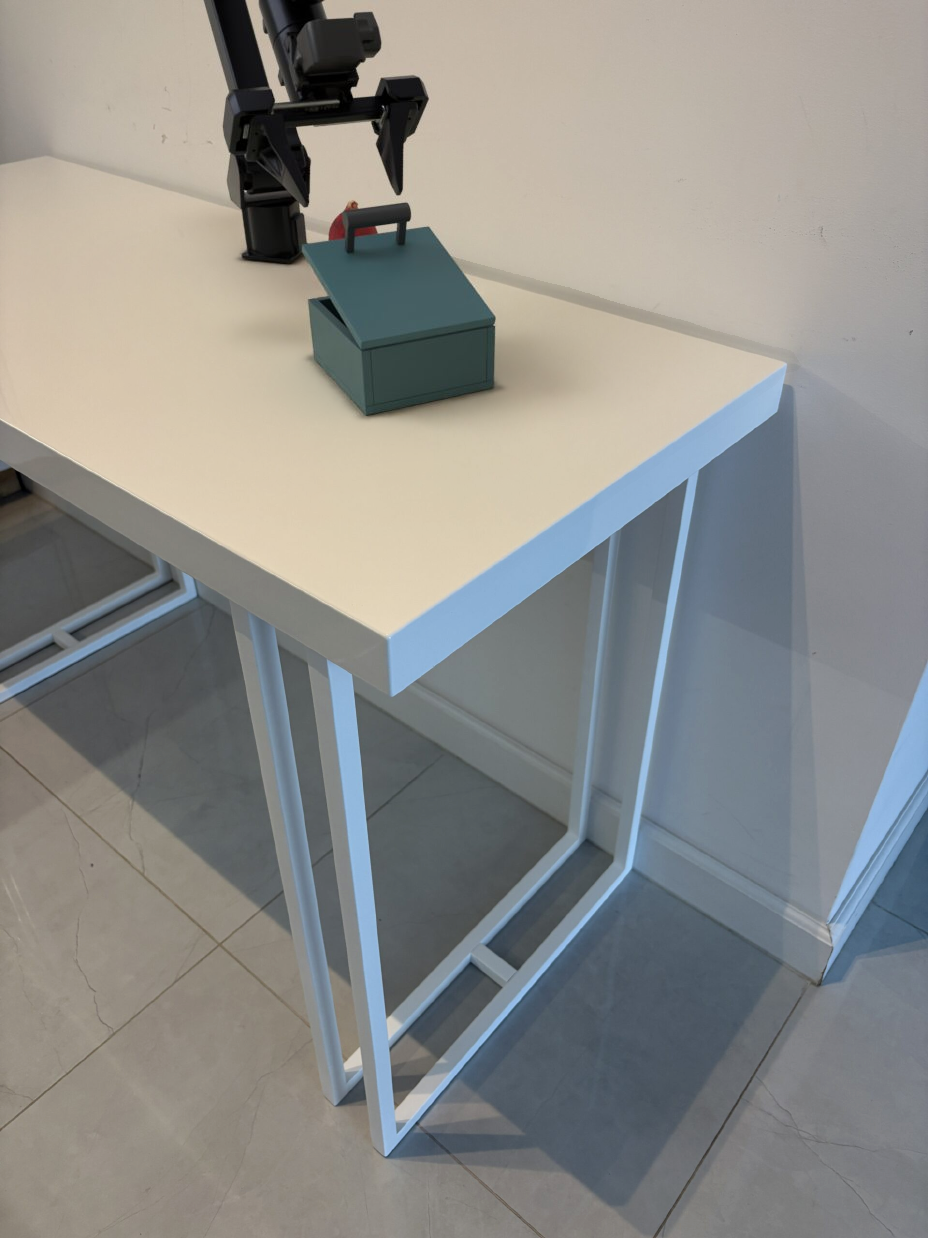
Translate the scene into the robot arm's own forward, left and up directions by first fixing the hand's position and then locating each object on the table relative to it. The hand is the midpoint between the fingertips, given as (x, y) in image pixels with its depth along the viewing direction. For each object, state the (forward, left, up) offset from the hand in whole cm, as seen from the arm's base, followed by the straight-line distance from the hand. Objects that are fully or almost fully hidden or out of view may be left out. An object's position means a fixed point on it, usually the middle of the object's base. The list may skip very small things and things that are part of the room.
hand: (354, 198), depth 86 cm
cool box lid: (+6, -7, -5) cm, 11 cm away
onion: (-8, +18, -13) cm, 24 cm away
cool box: (+6, -7, -13) cm, 16 cm away
